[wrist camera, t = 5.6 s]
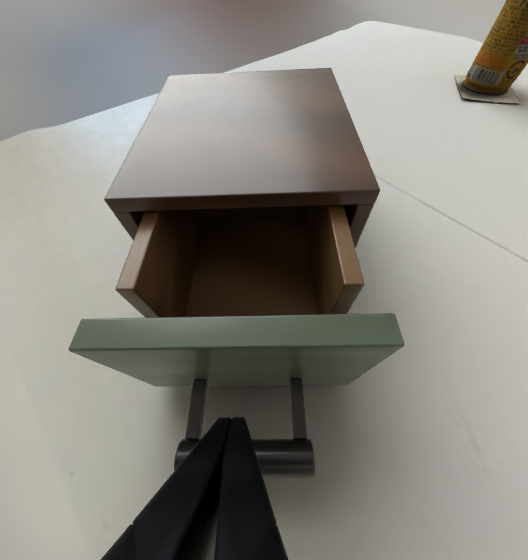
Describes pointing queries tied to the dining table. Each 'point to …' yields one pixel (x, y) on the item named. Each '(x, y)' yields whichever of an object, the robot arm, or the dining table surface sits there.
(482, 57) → the condiment
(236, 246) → the drawer
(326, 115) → the cabinet
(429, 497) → the dining table surface
